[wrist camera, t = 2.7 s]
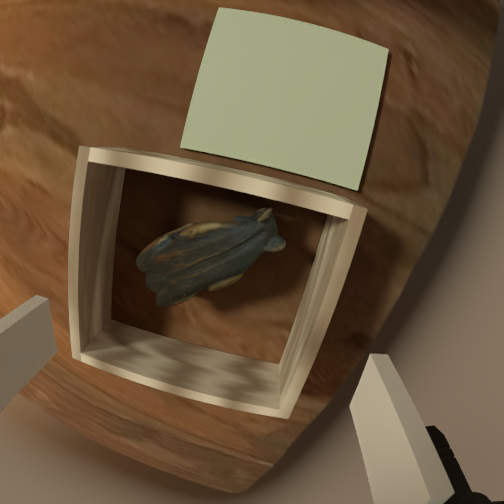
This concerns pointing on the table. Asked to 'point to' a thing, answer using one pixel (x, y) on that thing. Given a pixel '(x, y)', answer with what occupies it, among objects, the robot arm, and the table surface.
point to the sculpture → (206, 255)
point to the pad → (286, 96)
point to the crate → (178, 352)
